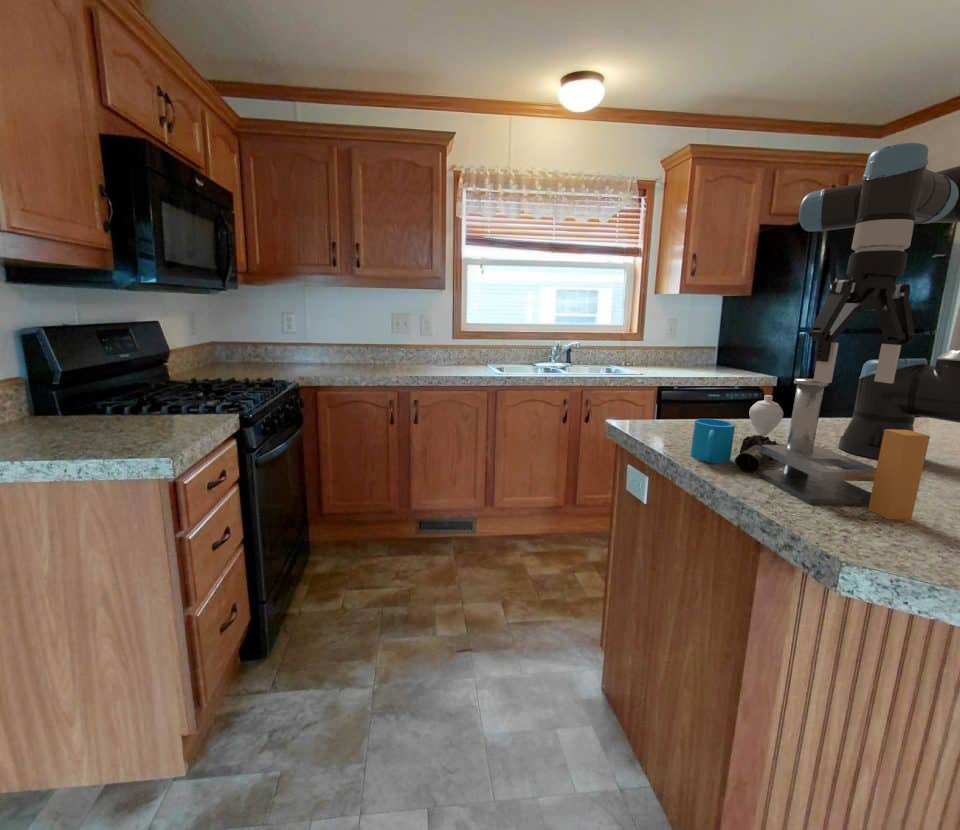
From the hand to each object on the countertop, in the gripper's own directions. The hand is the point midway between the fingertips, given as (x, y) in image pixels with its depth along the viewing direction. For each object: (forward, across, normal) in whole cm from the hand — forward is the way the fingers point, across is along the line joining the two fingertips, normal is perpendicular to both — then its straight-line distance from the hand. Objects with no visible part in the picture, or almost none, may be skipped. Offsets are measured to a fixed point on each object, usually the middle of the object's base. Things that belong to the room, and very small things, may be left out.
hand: (853, 382), depth 86 cm
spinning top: (+21, -22, -38) cm, 49 cm away
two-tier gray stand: (+21, -2, -5) cm, 22 cm away
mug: (+21, +5, -25) cm, 33 cm away
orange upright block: (+21, -4, +7) cm, 23 cm away
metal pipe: (+21, -3, -22) cm, 31 cm away
